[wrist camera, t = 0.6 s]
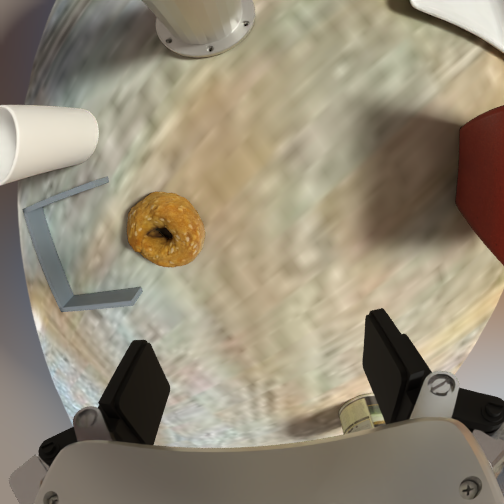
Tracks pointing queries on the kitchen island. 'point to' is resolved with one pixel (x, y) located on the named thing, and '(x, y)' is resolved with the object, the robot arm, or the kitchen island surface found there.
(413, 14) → the kitchen island surface
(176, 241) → the bagel
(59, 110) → the cup
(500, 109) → the plant pot
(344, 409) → the coffee can
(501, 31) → the square plate
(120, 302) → the box
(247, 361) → the kitchen island surface
